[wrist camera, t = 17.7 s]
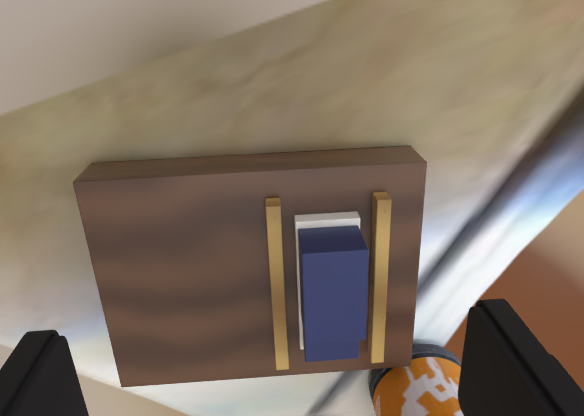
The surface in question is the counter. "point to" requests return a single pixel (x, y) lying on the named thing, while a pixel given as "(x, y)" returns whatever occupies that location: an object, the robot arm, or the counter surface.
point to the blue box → (331, 285)
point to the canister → (418, 385)
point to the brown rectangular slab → (244, 258)
